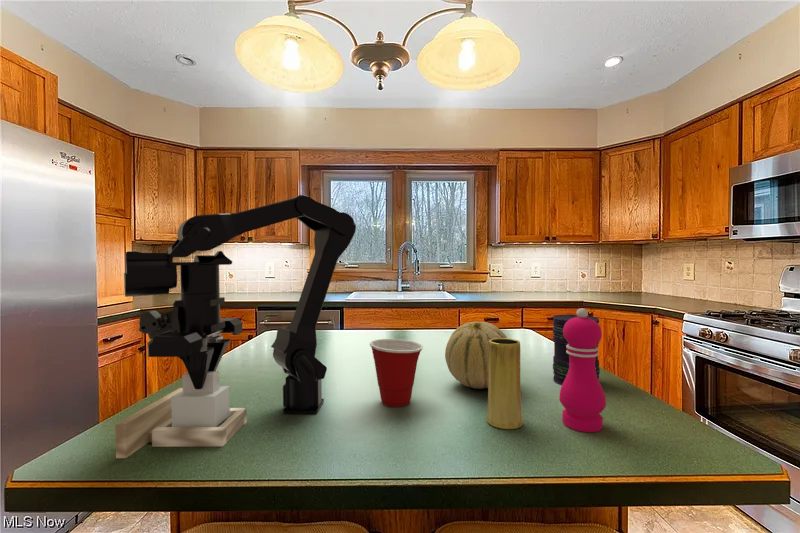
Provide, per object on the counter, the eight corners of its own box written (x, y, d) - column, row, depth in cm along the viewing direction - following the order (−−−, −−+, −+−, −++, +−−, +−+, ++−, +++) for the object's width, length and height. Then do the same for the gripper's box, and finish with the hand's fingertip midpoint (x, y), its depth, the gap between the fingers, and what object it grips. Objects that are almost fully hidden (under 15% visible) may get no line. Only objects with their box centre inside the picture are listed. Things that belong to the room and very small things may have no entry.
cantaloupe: (497, 375, 94) (497, 314, 94) (524, 396, 80) (523, 324, 79) (438, 378, 93) (438, 316, 92) (454, 400, 78) (454, 326, 78)
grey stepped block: (229, 414, 66) (228, 368, 66) (215, 427, 61) (214, 377, 61) (189, 415, 66) (188, 369, 66) (171, 427, 61) (170, 378, 61)
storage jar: (606, 390, 83) (606, 321, 83) (558, 388, 85) (558, 320, 84) (591, 376, 93) (591, 314, 93) (548, 374, 94) (548, 314, 94)
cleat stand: (254, 414, 72) (254, 387, 72) (211, 458, 56) (210, 423, 56) (180, 414, 72) (179, 387, 72) (116, 458, 56) (115, 424, 56)
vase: (526, 419, 68) (526, 339, 68) (518, 433, 63) (517, 346, 63) (492, 412, 71) (492, 336, 71) (482, 425, 66) (481, 342, 66)
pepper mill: (612, 435, 62) (612, 311, 61) (564, 432, 63) (564, 310, 63) (598, 417, 69) (598, 306, 68) (555, 414, 70) (555, 305, 70)
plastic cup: (427, 411, 72) (426, 348, 72) (369, 413, 72) (368, 349, 72) (421, 391, 83) (420, 336, 83) (371, 393, 83) (370, 337, 82)
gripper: (184, 289, 73) (186, 370, 73) (108, 299, 54) (111, 408, 55) (242, 288, 73) (244, 370, 73) (186, 298, 54) (189, 408, 54)
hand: (202, 386), depth 64 cm, fingers closed on grey stepped block
